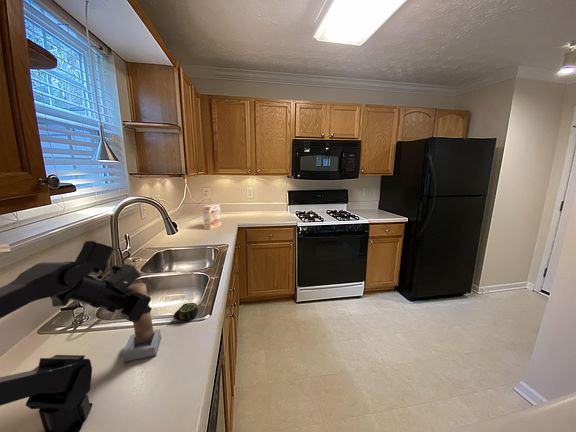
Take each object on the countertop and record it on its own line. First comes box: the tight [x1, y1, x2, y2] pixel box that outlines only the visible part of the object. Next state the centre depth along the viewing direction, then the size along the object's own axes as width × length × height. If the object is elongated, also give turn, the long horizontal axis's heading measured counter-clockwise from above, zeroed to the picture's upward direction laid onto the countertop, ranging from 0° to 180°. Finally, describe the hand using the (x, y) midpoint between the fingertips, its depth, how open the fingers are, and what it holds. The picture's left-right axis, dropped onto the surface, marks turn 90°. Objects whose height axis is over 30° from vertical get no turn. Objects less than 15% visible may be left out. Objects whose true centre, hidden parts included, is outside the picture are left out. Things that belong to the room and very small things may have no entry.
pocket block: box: [121, 329, 162, 364], centre depth 71 cm, size 8×8×3 cm
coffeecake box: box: [202, 203, 222, 230], centre depth 209 cm, size 15×7×20 cm, turn 159°
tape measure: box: [173, 302, 199, 321], centre depth 87 cm, size 7×7×4 cm
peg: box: [127, 282, 154, 340], centre depth 68 cm, size 4×4×15 cm
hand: (145, 308), depth 69 cm, fingers closed on peg, 4 cm apart
